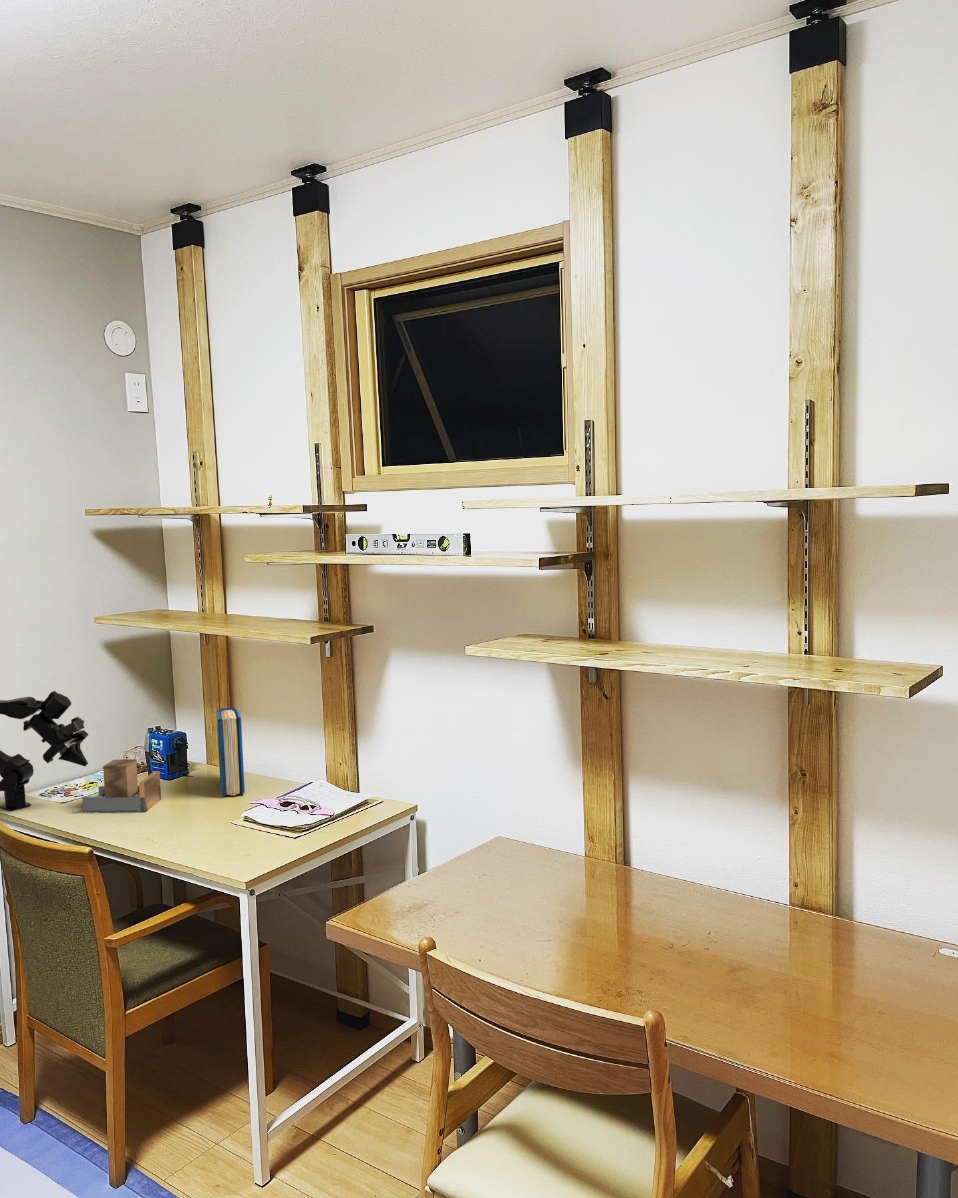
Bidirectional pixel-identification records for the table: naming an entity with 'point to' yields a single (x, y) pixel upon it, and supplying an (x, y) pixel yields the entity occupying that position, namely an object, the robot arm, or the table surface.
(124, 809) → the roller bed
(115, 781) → the brown wooden block
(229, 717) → the book
